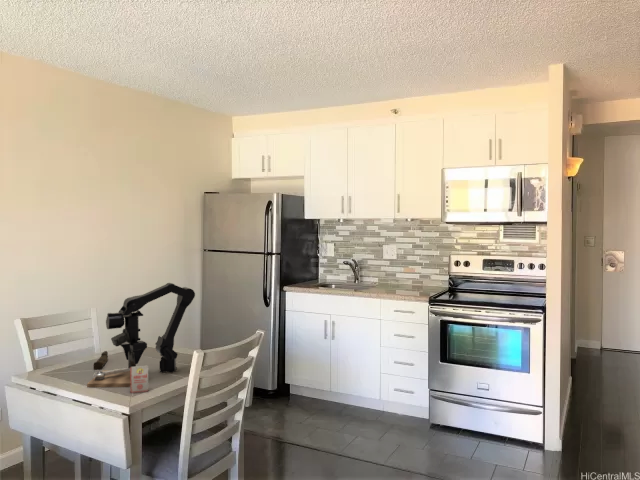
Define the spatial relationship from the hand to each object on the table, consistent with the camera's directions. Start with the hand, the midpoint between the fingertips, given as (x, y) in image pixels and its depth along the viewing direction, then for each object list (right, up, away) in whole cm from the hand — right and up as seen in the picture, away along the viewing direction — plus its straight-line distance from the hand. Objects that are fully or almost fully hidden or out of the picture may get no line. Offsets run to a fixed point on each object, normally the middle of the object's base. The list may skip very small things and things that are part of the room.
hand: (132, 361), depth 236 cm
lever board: (-4, -7, -5) cm, 9 cm away
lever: (-5, -4, -5) cm, 8 cm away
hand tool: (-21, -6, +19) cm, 30 cm away
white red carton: (+10, -8, -19) cm, 22 cm away
